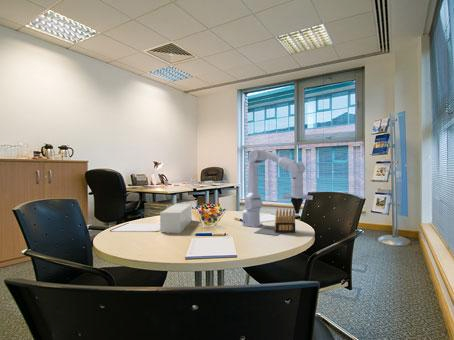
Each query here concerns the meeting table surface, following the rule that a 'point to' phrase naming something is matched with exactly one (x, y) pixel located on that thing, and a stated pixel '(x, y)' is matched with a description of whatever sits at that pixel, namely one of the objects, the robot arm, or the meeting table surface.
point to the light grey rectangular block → (175, 218)
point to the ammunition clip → (285, 222)
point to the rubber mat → (267, 231)
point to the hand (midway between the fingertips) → (297, 213)
